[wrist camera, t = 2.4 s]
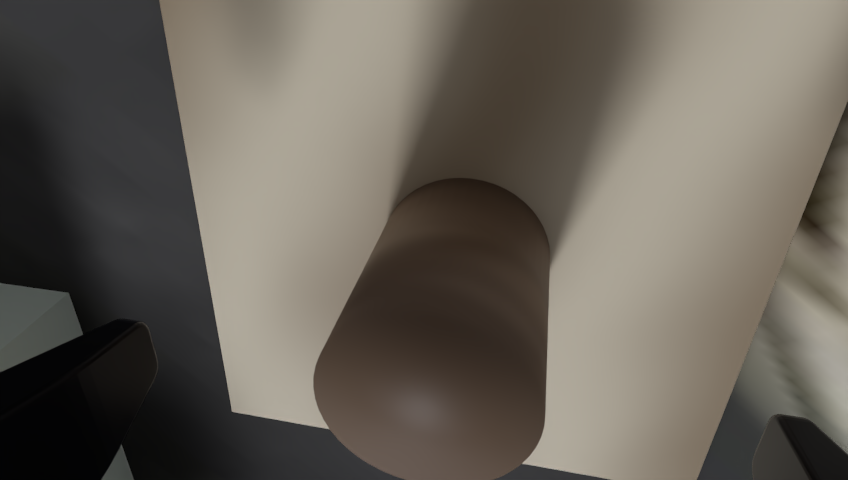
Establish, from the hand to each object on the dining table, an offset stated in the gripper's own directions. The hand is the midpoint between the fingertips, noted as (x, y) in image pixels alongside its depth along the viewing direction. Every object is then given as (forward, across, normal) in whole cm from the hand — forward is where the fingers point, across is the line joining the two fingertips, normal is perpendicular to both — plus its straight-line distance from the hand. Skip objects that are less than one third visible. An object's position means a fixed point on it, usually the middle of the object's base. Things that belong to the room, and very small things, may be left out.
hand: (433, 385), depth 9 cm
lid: (+4, 0, 0) cm, 4 cm away
